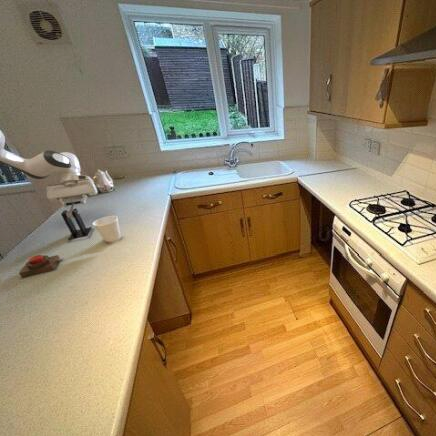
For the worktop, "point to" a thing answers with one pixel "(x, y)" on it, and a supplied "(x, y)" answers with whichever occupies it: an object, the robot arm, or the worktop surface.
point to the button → (36, 259)
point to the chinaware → (104, 182)
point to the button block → (40, 266)
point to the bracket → (73, 230)
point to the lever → (69, 213)
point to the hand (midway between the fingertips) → (74, 204)
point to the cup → (108, 228)
